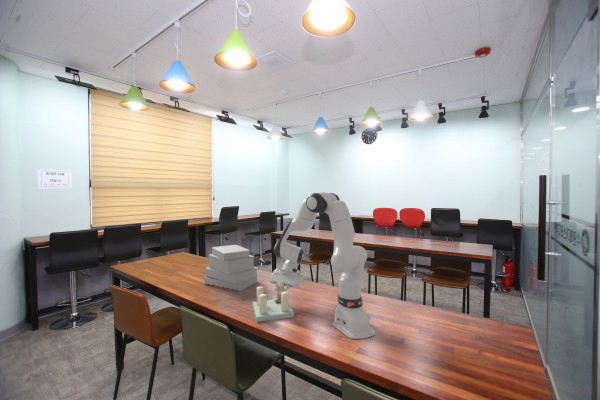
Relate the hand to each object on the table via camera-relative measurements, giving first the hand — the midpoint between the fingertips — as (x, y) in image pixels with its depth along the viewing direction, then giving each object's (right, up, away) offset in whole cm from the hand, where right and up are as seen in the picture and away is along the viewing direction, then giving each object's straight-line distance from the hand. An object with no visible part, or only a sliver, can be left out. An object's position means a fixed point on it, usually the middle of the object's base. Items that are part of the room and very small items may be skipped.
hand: (279, 291), depth 156 cm
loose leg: (0, -7, +1) cm, 7 cm away
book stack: (-39, -8, +41) cm, 57 cm away
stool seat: (-4, -9, -7) cm, 12 cm away
